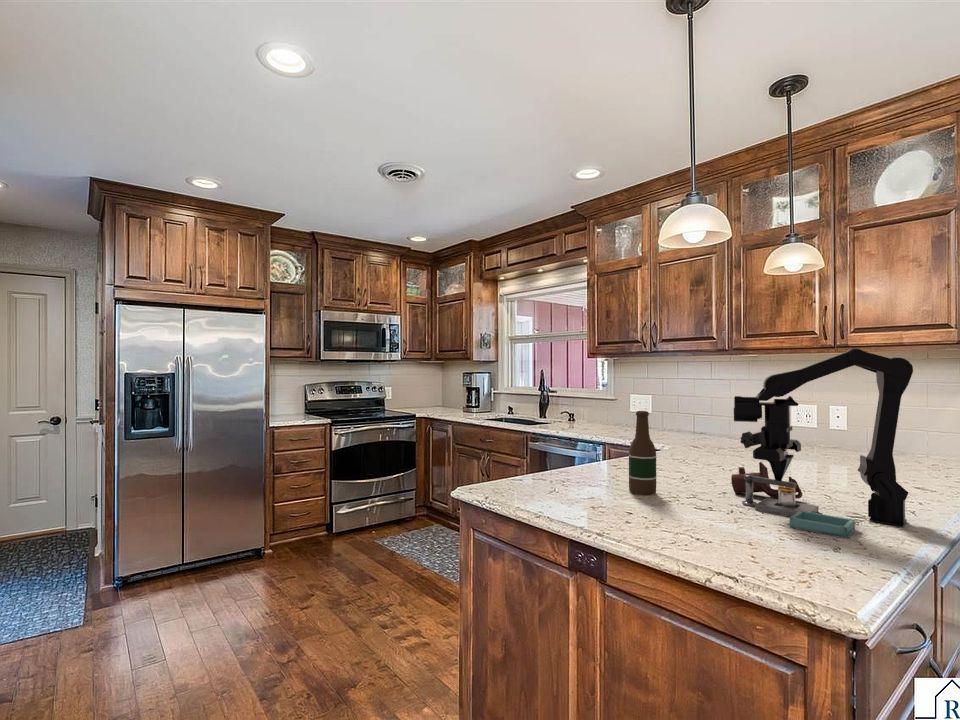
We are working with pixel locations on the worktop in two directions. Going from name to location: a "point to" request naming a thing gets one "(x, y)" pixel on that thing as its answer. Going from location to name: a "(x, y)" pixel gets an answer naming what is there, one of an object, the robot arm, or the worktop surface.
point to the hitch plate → (775, 504)
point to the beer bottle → (642, 459)
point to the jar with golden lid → (786, 497)
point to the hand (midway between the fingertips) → (778, 482)
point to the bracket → (758, 483)
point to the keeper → (769, 481)
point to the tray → (822, 524)
